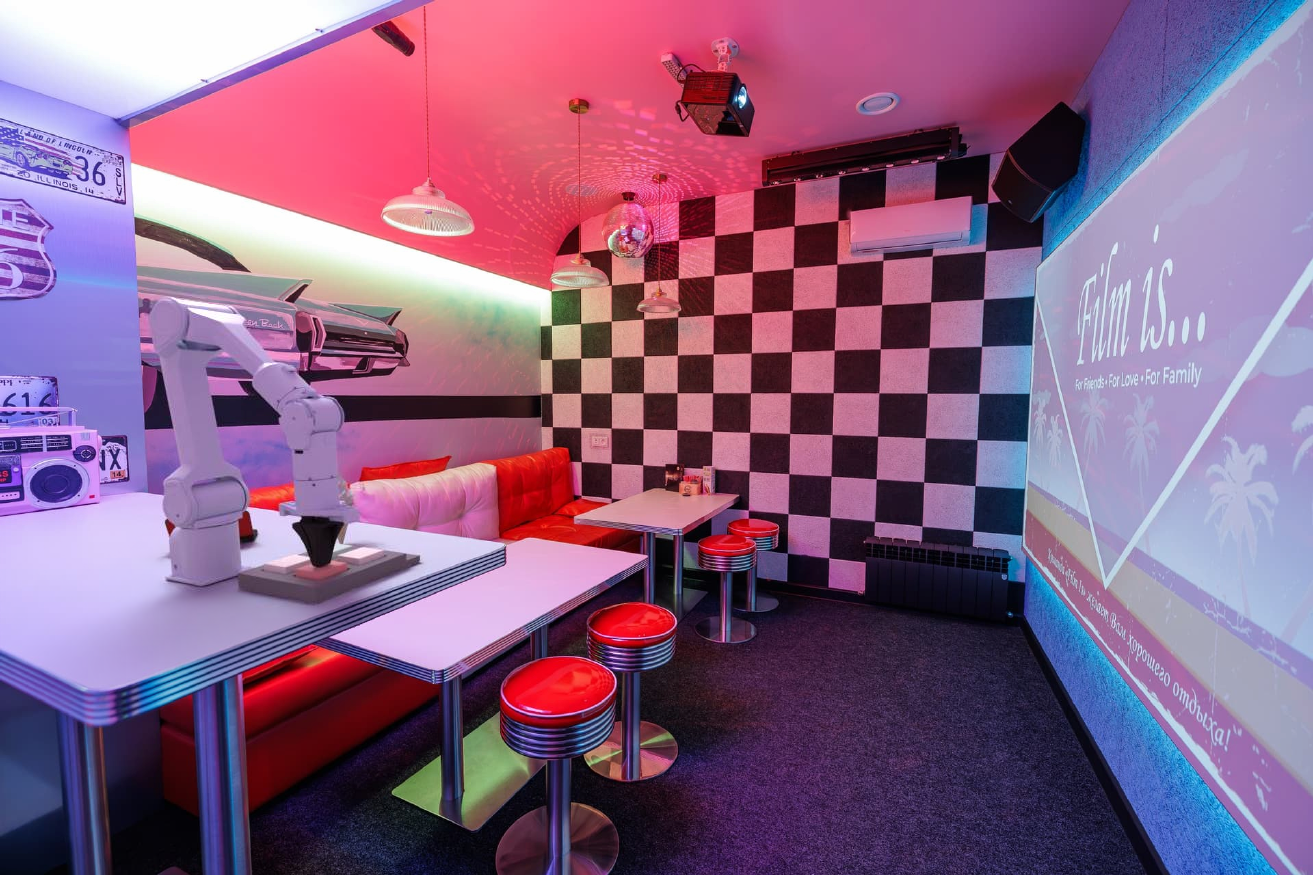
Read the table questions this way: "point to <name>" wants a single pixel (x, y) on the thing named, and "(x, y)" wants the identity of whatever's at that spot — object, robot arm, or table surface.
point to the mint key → (340, 549)
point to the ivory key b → (360, 556)
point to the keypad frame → (326, 587)
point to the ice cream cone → (345, 496)
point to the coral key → (321, 570)
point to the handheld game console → (244, 525)
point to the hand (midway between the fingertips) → (321, 564)
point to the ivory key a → (287, 564)
